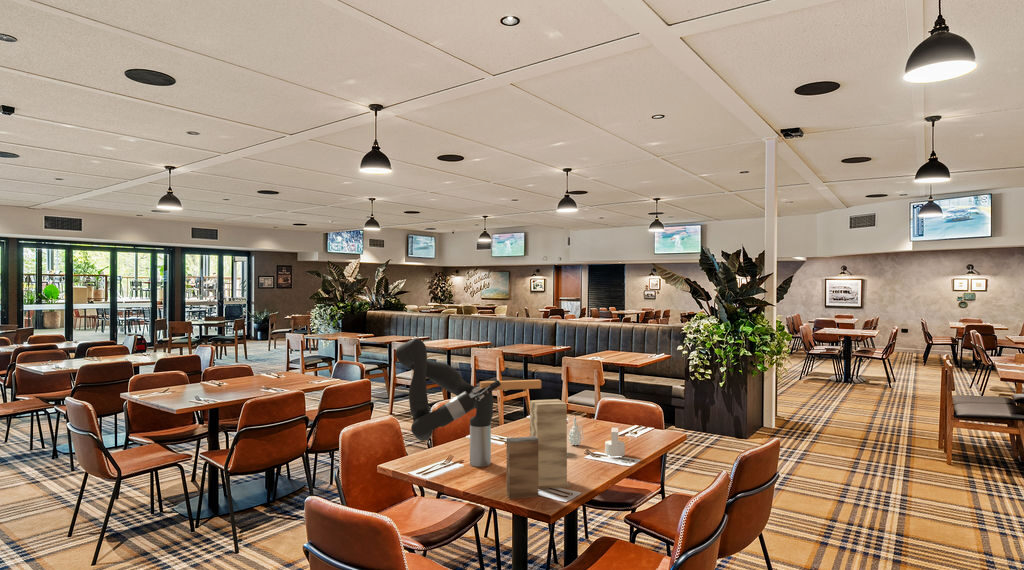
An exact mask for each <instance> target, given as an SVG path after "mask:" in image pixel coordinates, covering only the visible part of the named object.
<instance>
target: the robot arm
mask: <svg viewBox="0 0 1024 570" xmlns="http://www.w3.org/2000/svg"><path fill="white" fill-rule="evenodd" d="M395 358H396V360H397V361H398V362H399V363H400V364H401V365H402V366H404V367H406V368H407V369H410V370H411V371H413V372H412V373H413V374H412V379H411V382H410V386H409V390H408V402H409V403H408V404H409V409H410V413H411V415H412V424H411V428H410V430H411V434H412V435H414V437H415V438H416V440H418V441H422V442H424V441H428V440H429V439H430V438H431V437H432V435H433V431H434V430H436V429H438V428H442V427H446V426H448V425H450V424H451V423H453V422H454V421H456V420H457V419H458V420H459V418H462V417H463V416H465V415H466V414H468V413H469V412H471V411H472V410H474V409H476V410H475V411H476V412H475V415H474V416H472V417H470V419H469V466H472V467H477V468H478V467H479V468H482V467H488V466H490V465H491V462H492V456H491V455H492V451H491V450H492V446H491V445H492V437H491V436H492V430H491V429H492V425H491V424H492V419H493V414H494V396H493V392H494V391H495V390H494V389H495V388H497V387H498V386H500V385H501V384H500V382H499V381H500V380H498V379H497V378H494V379H493V380H491V381H495V382H494V383H492V384H490V385H488V386H487V387H485V388H484V387H483V388H481V389H480V385H479V386H475V385H472V384H470V383H469V382H467V381H466V380H464V378H463V377H462V375H461V374H460V372H458V370H457V369H455V368H454V367H452V366H450V365H449V364H448V363H444V362H440V361H434V360H429V359H428V352H427V346H426V344H425V343H424V341H423V340H422V339H420V338H413V339H410V340H408V341H406V342H404V343H403V344H401V345H400V346H398V347H397V348H396V350H395ZM427 379H428V380H430V381H431V382H432V383H435V384H436V385H438V386H439V387H441V388H442V389H443V390H445V391H447V392H449V393H451V394H452V395H455V396H454V397H453V398H451V399H449V400H448V401H447V402H446V403H444V404H443V405H441V406H440V407H438V408H436V409H435V410H433V411H431V412H430V409H429V408H430V405H429V400H428V399H429V398H428V391H427V390H428V389H427Z"/></svg>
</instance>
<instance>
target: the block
mask: <svg viewBox="0 0 1024 570" xmlns="http://www.w3.org/2000/svg"><path fill="white" fill-rule="evenodd" d="M506 496H507V497H508V500H514V499H515V500H517V499H523V498H525V499H526V498H535V497H536V498H538V497H539V490H538V439H537V438H536V437H535V436H531V437H530V436H520V437H519V436H518V437H507V438H506Z"/></svg>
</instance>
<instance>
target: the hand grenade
mask: <svg viewBox="0 0 1024 570" xmlns="http://www.w3.org/2000/svg"><path fill="white" fill-rule="evenodd" d="M577 422H580V423H581V421H580V420H577V417H576V416H574V417H573V425H572V427H571V428H570V429H569V433H568V441H569V444H570V445H572V444H573V445H578V446H579V445H580V444H581V441H584V440H585V439H584V429H583V428H582V426H581V425H578V424H577Z"/></svg>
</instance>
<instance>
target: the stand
mask: <svg viewBox="0 0 1024 570" xmlns="http://www.w3.org/2000/svg"><path fill="white" fill-rule="evenodd" d="M567 404H568V403H566V402H565V401H563V400H560V399H559V398H554V399H535V400H533V399H532V400H529V437H531V436H535V437H536V438H537V439H538V489H542V490H549V489H548V488H553V489H562V488H571V484H570V483H569V482H568V463H567V462H568V439H567V438H568V432H567V431H568V426H567V425H568V423H567V422H568V419H567V418H568V417H567V416H568V415H567V412H568V409H567V408H568V405H567Z"/></svg>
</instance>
